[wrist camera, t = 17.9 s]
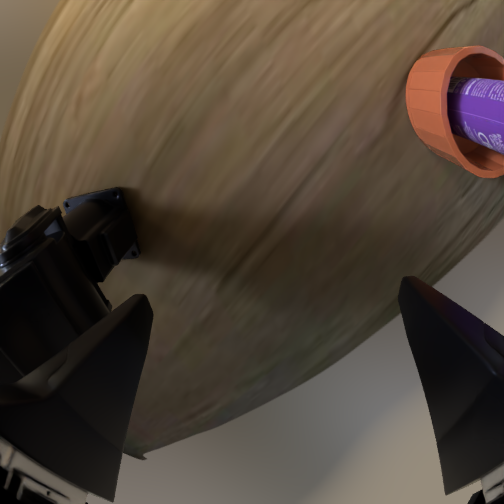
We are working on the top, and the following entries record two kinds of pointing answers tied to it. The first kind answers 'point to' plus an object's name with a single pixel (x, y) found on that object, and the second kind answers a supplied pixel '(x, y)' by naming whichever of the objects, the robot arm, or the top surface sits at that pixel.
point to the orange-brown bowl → (435, 105)
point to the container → (477, 110)
